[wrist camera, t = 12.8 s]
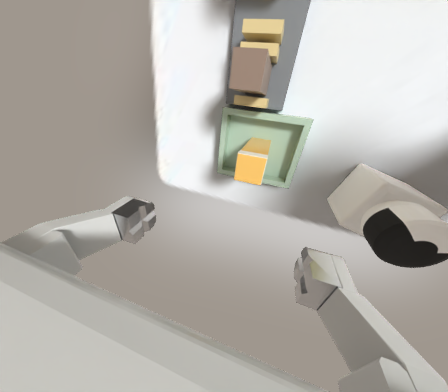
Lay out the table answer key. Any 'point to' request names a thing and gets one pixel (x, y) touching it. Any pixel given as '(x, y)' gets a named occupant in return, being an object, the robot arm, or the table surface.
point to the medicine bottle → (391, 218)
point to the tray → (264, 129)
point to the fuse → (252, 161)
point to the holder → (264, 51)
